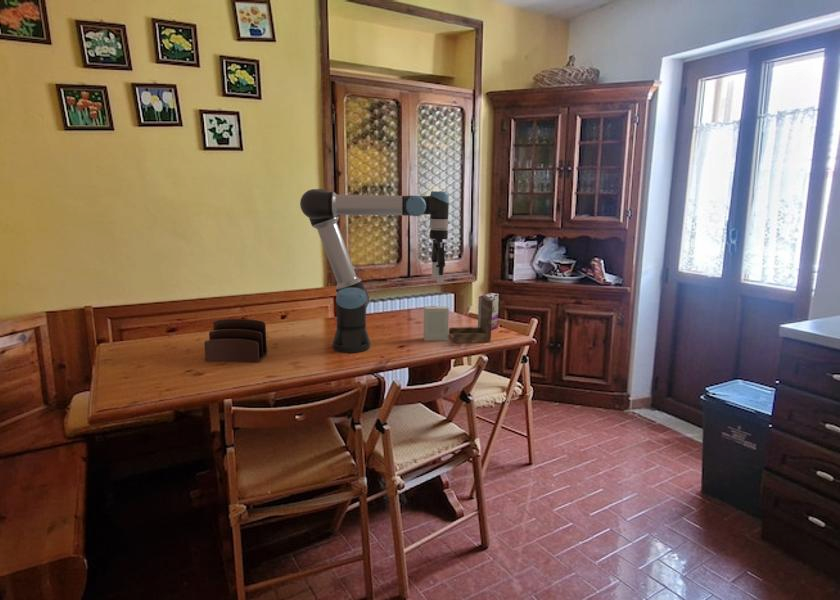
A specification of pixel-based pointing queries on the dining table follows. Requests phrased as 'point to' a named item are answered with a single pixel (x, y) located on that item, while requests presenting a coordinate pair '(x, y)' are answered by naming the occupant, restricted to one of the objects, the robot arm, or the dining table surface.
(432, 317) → the door panel
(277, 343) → the dining table surface
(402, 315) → the dining table surface
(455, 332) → the track
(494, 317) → the candy bar box
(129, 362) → the dining table surface
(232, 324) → the letter holder
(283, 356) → the dining table surface
